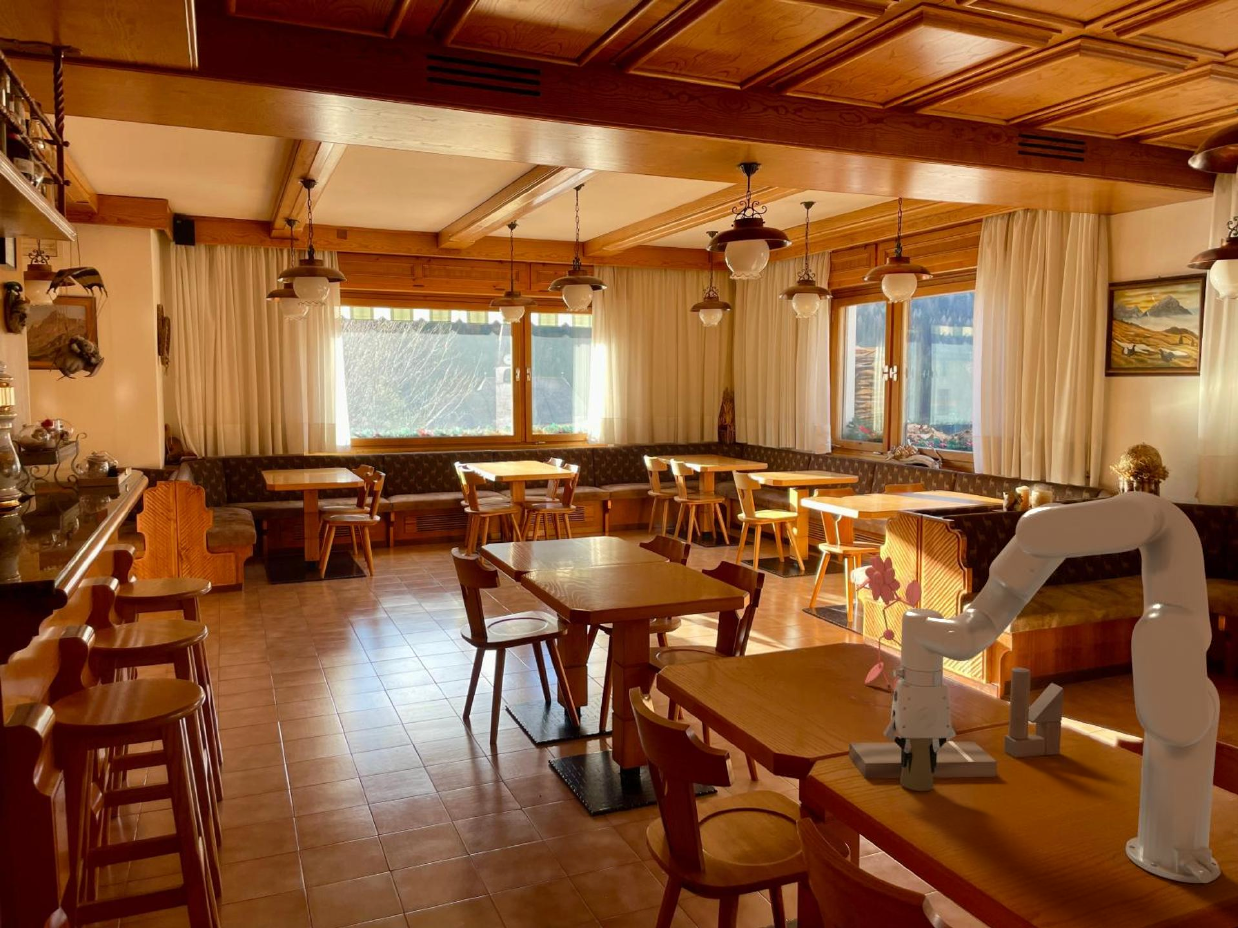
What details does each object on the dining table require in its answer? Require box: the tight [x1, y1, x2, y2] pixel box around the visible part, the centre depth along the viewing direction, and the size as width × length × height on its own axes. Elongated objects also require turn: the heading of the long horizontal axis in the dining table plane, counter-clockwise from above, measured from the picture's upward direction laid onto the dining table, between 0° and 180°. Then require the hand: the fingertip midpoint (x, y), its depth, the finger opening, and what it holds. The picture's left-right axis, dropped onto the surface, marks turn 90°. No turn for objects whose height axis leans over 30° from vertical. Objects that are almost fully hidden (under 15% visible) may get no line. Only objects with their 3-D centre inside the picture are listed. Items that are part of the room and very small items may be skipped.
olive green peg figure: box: [899, 738, 934, 792], centre depth 166 cm, size 6×6×11 cm
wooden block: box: [1003, 666, 1064, 758], centre depth 183 cm, size 4×11×18 cm, turn 102°
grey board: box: [848, 740, 998, 779], centre depth 176 cm, size 10×26×3 cm, turn 93°
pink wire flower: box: [845, 554, 923, 708], centre depth 218 cm, size 15×26×35 cm, turn 19°
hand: (918, 769), depth 167 cm, fingers closed on olive green peg figure, 3 cm apart
